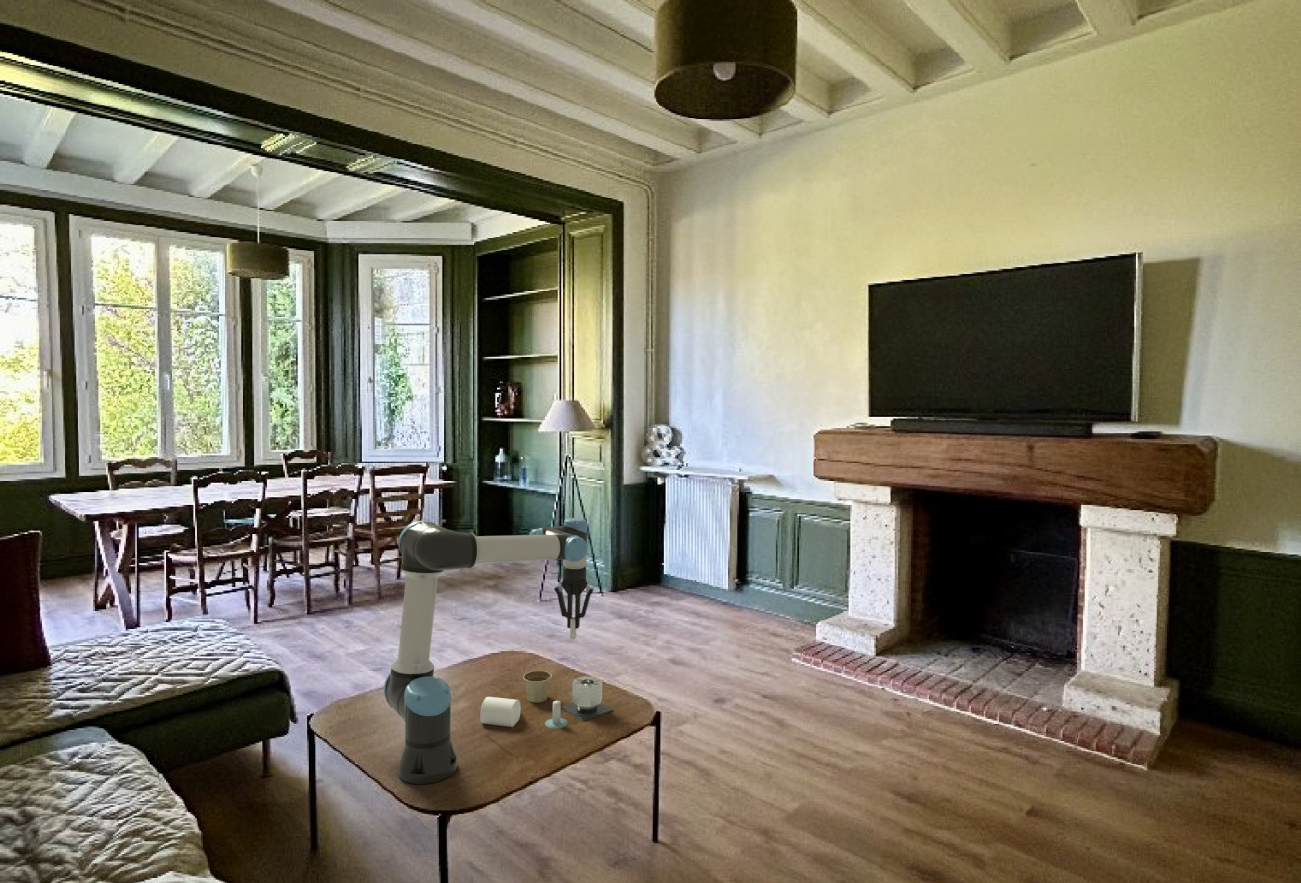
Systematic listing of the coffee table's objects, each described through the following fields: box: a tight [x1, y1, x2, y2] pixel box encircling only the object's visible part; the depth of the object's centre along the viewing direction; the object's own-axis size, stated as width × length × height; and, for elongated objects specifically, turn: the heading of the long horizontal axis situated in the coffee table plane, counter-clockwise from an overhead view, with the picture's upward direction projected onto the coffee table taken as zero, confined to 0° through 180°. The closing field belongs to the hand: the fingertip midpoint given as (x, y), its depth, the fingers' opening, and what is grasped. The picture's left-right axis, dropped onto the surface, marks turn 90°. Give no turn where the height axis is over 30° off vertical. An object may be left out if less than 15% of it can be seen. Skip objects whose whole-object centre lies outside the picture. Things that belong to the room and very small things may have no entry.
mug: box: [479, 696, 522, 728], centre depth 223 cm, size 12×10×8 cm
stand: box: [544, 700, 569, 730], centre depth 221 cm, size 7×7×8 cm
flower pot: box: [522, 670, 553, 703], centre depth 238 cm, size 9×9×9 cm
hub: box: [561, 682, 615, 722], centre depth 231 cm, size 12×12×9 cm
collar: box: [571, 676, 603, 707], centre depth 230 cm, size 9×9×6 cm
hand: (573, 637), depth 236 cm, fingers closed
